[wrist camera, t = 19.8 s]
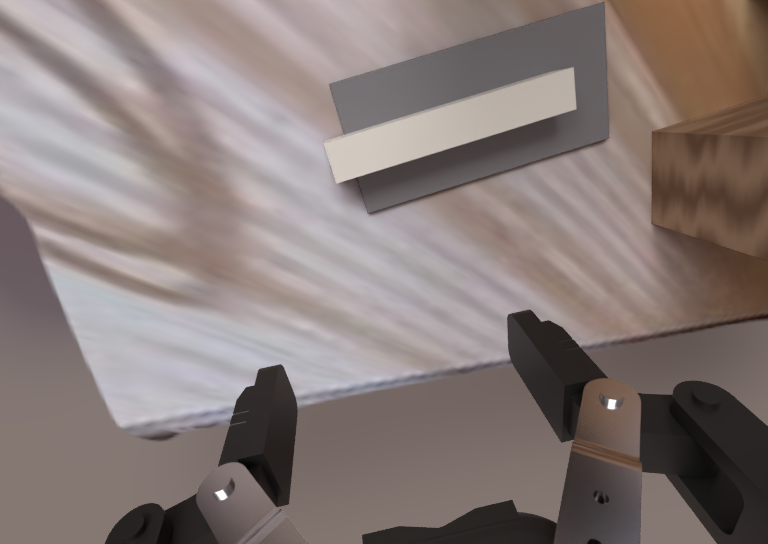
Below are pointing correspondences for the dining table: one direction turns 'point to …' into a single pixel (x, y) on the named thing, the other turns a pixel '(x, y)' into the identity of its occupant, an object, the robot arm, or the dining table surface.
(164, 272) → the dining table surface
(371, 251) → the dining table surface
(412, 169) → the mat
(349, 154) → the bar
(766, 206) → the brown wooden box
